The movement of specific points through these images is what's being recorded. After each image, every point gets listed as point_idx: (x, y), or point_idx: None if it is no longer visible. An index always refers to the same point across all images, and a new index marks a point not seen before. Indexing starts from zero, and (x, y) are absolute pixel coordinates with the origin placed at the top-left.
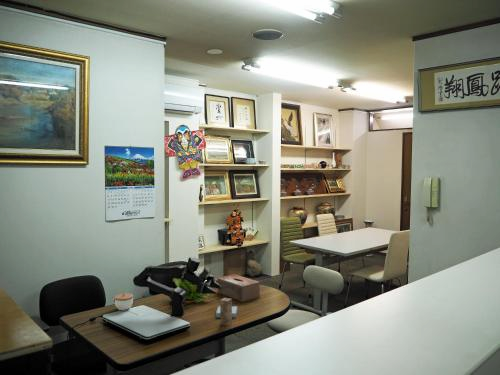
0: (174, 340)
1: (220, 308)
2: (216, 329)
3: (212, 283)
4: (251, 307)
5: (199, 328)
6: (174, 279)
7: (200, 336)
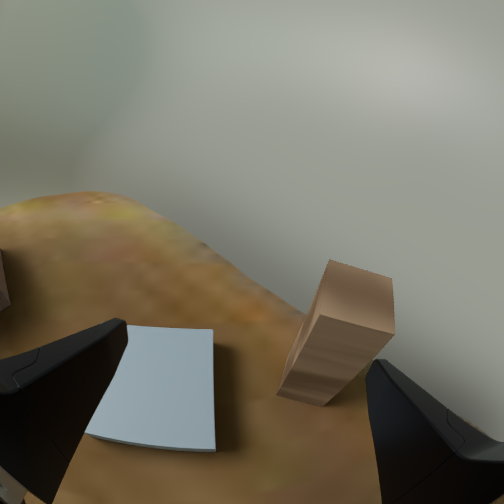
0: None
1: (362, 368)
2: None
3: (28, 439)
4: (83, 276)
5: None
6: None
7: None
